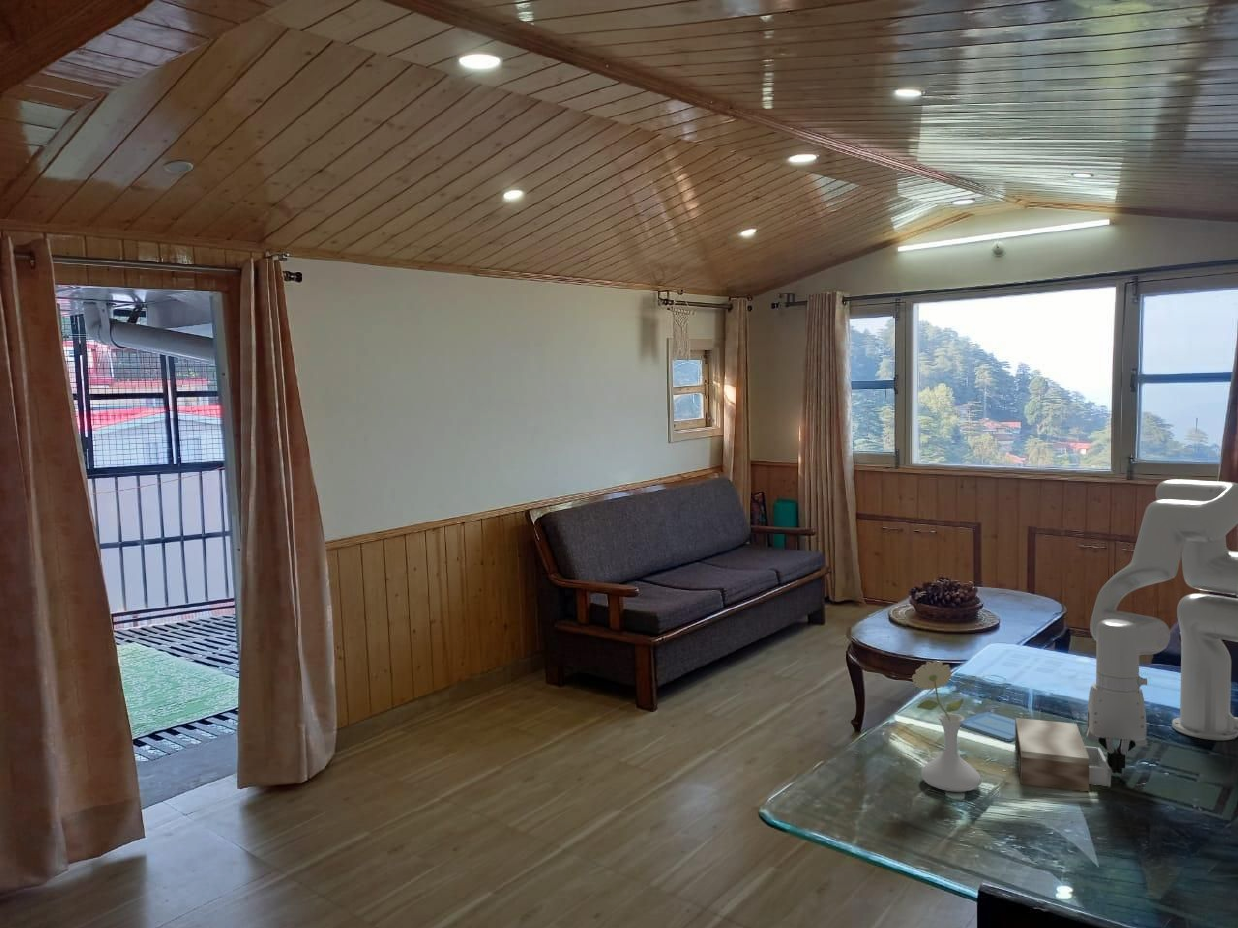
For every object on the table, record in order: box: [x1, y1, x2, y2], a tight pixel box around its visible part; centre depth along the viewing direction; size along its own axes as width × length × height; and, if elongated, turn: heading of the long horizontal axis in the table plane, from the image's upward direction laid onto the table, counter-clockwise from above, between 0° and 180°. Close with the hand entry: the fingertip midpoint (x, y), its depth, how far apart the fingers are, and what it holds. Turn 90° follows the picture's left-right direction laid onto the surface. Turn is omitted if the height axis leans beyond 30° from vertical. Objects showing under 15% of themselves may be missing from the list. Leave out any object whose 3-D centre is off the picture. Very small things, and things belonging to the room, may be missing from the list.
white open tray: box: [1085, 745, 1112, 788], centre depth 181 cm, size 14×12×4 cm
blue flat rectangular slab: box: [960, 711, 1015, 742], centre depth 206 cm, size 14×12×1 cm
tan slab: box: [1014, 717, 1090, 793], centre depth 182 cm, size 12×20×7 cm, turn 159°
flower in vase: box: [911, 660, 982, 793], centre depth 175 cm, size 13×11×25 cm
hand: (1116, 770), depth 178 cm, fingers closed
